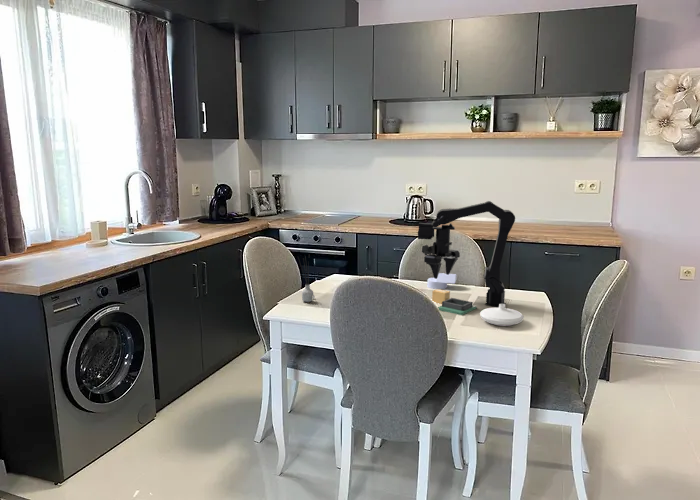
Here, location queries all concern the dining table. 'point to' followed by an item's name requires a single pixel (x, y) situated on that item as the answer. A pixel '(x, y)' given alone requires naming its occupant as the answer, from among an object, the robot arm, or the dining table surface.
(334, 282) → the dining table surface
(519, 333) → the dining table surface
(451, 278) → the wedge on round base
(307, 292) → the reed diffuser
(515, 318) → the vase
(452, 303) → the socket board
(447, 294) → the plug
